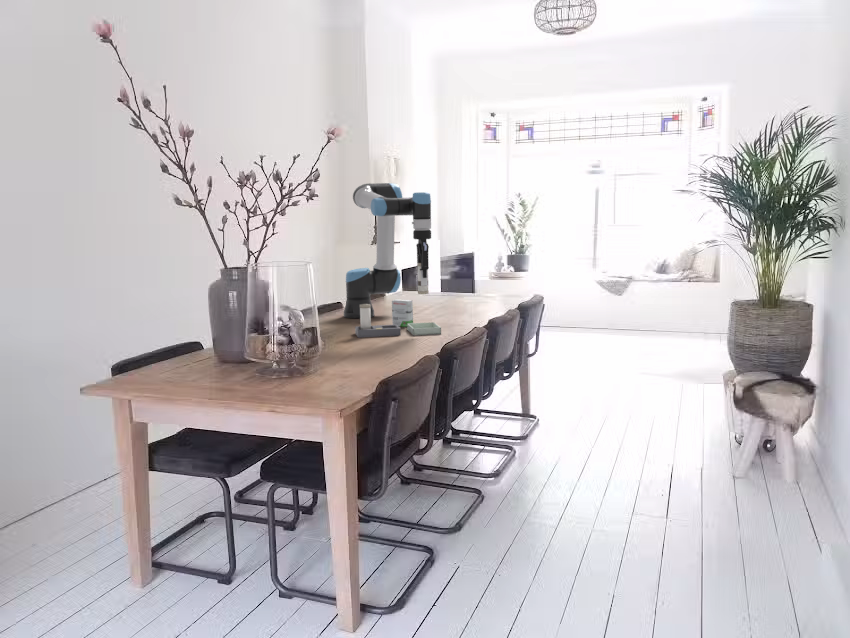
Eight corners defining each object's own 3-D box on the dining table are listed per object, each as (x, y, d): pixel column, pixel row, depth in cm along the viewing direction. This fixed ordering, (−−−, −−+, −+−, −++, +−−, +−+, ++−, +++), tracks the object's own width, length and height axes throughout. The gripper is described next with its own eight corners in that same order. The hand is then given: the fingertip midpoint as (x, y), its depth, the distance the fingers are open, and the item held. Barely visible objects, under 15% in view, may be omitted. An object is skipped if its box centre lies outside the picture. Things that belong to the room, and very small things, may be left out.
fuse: (359, 334, 300) (359, 304, 298) (370, 333, 301) (369, 303, 299) (361, 336, 295) (360, 305, 293) (372, 335, 296) (371, 305, 294)
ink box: (413, 325, 319) (413, 299, 317) (408, 327, 315) (407, 301, 313) (397, 324, 324) (397, 298, 322) (391, 326, 319) (391, 300, 317)
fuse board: (355, 333, 302) (355, 326, 302) (396, 331, 306) (396, 323, 305) (357, 337, 293) (357, 330, 292) (400, 335, 296) (400, 327, 296)
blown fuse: (416, 293, 302) (416, 262, 300) (427, 292, 303) (426, 262, 301) (419, 294, 298) (418, 263, 296) (429, 293, 299) (429, 263, 297)
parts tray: (407, 329, 309) (407, 323, 308) (434, 328, 311) (433, 322, 311) (413, 335, 295) (413, 328, 295) (441, 333, 298) (441, 327, 297)
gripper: (409, 229, 304) (410, 283, 308) (417, 230, 287) (418, 287, 291) (426, 228, 305) (427, 282, 309) (435, 230, 288) (436, 286, 292)
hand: (423, 284), depth 300 cm, fingers closed on blown fuse, 4 cm apart
